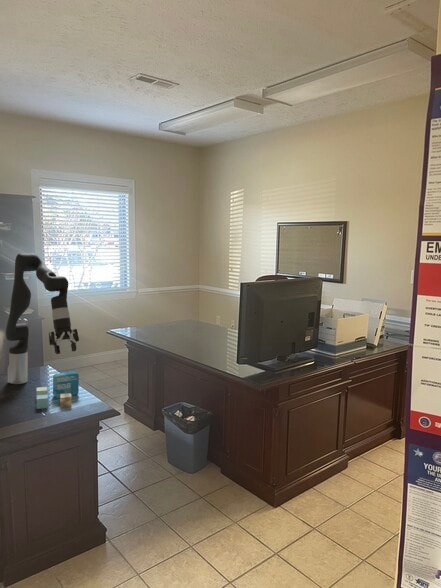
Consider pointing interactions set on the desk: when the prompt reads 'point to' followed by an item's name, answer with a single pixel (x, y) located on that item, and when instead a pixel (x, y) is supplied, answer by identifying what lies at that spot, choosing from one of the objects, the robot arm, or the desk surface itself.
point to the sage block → (41, 391)
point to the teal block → (42, 401)
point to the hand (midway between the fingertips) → (66, 352)
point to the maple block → (65, 400)
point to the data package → (65, 383)
